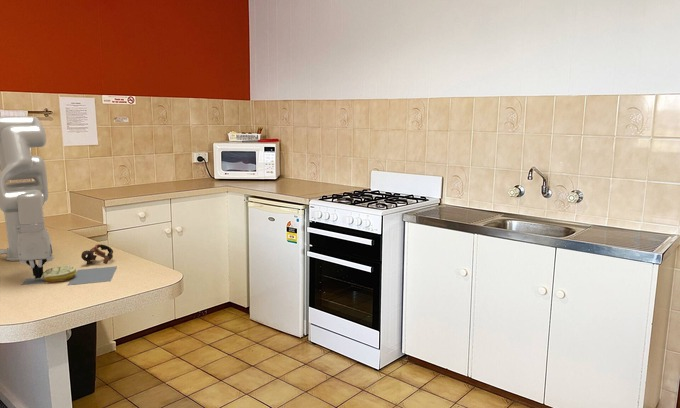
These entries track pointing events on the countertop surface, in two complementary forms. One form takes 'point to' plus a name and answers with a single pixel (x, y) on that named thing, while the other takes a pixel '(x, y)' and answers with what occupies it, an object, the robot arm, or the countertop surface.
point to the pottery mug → (99, 253)
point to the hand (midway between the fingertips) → (38, 277)
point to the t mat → (83, 276)
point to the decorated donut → (59, 273)
